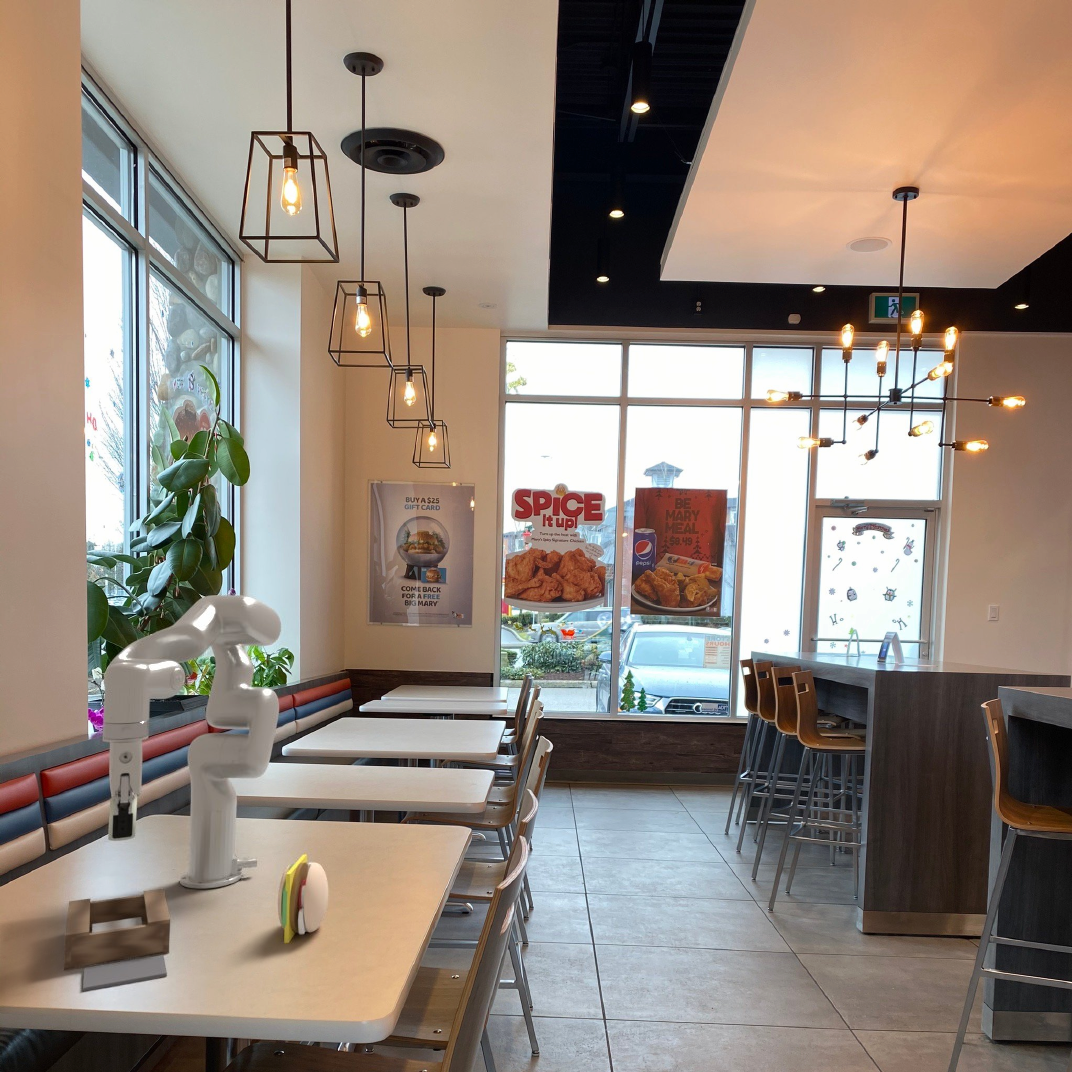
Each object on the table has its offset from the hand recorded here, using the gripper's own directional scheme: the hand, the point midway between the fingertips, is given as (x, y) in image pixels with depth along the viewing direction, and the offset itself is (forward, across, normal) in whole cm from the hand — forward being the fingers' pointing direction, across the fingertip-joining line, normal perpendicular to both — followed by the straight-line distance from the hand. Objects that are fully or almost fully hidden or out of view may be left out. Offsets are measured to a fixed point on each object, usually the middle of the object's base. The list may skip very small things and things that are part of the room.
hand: (121, 832), depth 153 cm
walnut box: (+19, 0, 0) cm, 19 cm away
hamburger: (+19, -9, -31) cm, 38 cm away
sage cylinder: (+1, 0, 0) cm, 1 cm away
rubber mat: (+19, -15, -1) cm, 24 cm away
